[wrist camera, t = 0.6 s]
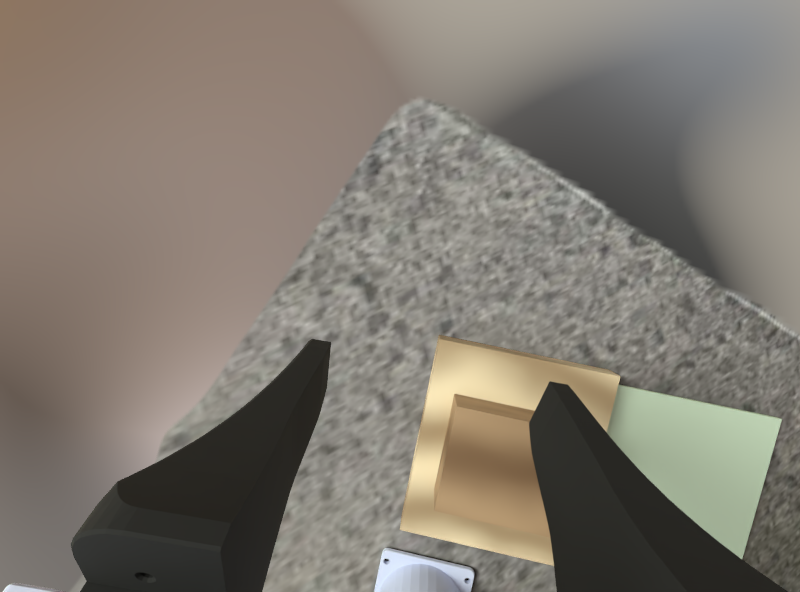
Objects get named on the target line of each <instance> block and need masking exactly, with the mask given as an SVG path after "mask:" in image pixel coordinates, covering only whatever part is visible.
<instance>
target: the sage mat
mask: <svg viewBox="0 0 800 592" xmlns="http://www.w3.org/2000/svg"><path fill="white" fill-rule="evenodd" d="M781 421H782V419H780V418H778V417H773V416H768V415H764V414H759V413H754V412H749V411H744V410H739V409H735V408H730V407H725V406H720V405H715V404H711V403H706V402H701V401H696V400H691V399H687V398H682V397H677V396H672V395H667V394H663V393H658V392H653V391H648V390H643V389H639V388H634V387H629V386H624V385H618V389H617V393H616V397H615V401H614V405H613V409H612V413H611V417H610V421H609V425H608V429H607V434H608V435H609V436H610V437H611V438H612V440H613V441H614V442H615V443H616V444H617V445H618V447H619V448H620V449H621V450H622V451H623V452H624V453H625V455H626V456H627V457H628V458H629V459H630V460H631V461H632V462H633V463H634V464H635V466H636V467H637V468H638V469H639V470H640V471H641V472H642V473H643V474H644V475H645V476H646V477H647V478H648V479H649V480H650V481H651V482H652V483H653V484H654V485H655V486H656V487H657V488H658V489H659V490H660V491H661V492H662V493H663V494H664V495H665V496H666V497H667V498H668V499H669V500H671V501H672V502H673V503H674V504H675V505H676V506H677V507H678V508H679V509H680V510H682V511H683V512H684V513H685V514H686V515H687V516H689V517H690V518H691V519H692V520H693V521H694V522H695V523H697V524H698V525H699V526H700V527H701V528H702V529H704V530H705V531H706V532H707V533H709V534H710V535H711V536H712V537H714V538H715V539H716V540H717V541H719V542H720V543H721V544H722V545H724V546H725V547H726V548H728V549H729V550H730V551H732V552H733V553H734V554H735V555H737V556H738V557H739V558H741V559H742V558H743V555H744V551H745V548H746V544H747V540H748V537H749V533H750V530H751V526H752V523H753V519H754V516H755V512H756V509H757V505H758V502H759V498H760V495H761V491H762V488H763V484H764V481H765V477H766V474H767V470H768V467H769V463H770V459H771V456H772V452H773V449H774V445H775V442H776V438H777V435H778V431H779V428H780V424H781Z"/></svg>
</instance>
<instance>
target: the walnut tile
mask: <svg viewBox="0 0 800 592" xmlns="http://www.w3.org/2000/svg"><path fill="white" fill-rule="evenodd" d="M534 412H535V411H534V410H529V409H524V408H520V407H515V406H510V405H506V404H501V403H496V402H492V401H487V400H482V399H478V398H473V397H468V396H464V395H459V394H454V398H453V403H452V407H451V412H450V417H449V421H448V426H447V431H446V435H445V440H444V445H443V450H442V454H441V459H440V464H439V468H438V473H437V478H436V482H435V487H434V511H437V512H441V513H446V514H450V515H454V516H459V517H463V518H467V519H472V520H476V521H480V522H485V523H489V524H493V525H498V526H502V527H506V528H511V529H515V530H519V531H524V532H528V533H532V534H537V535H541V536H545V537H550V532H549V527H548V522H547V517H546V513H545V509H544V505H543V500H542V496H541V492H540V488H539V483H538V479H537V475H536V470H535V466H534V461H533V457H532V451H531V442H530V431H529V422H530V420H531V418H532V416H533V414H534Z"/></svg>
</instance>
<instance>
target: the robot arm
mask: <svg viewBox="0 0 800 592" xmlns="http://www.w3.org/2000/svg"><path fill="white" fill-rule="evenodd" d="M330 347H331V342H326V341H321V340H315V339H311V340H310V341H308V343H307V344H306V345H305V347H304V348H303V349H302V350H301V351H300V353H299V354H298V355H297V356H296V357H295V358H294V359H293V360H292V362H291V363H290V364H289V365H288V366H287V367H286V368H285V369H284V370H283V371H282V372H281V373H280V374H279V375H278V376H277V377H276V378H275V379H274V380H273V381H272V382H271V383H270V384H269V385H268V386H267V387H265V388H264V389H263V390H262V391H261V392H260V393H259V394H258V395H257V396H255V397H254V398H253V399H252V400H251V401H250V402H248V403H247V404H246V405H245V406H244V407H242V408H241V409H240V410H239V411H237V412H236V413H235V414H233V415H232V416H231V417H229V418H228V419H227V420H225V421H224V422H222V423H221V424H219V425H218V426H217V427H215V428H214V429H212V430H211V431H209V432H208V433H206V434H205V435H203V436H202V437H200V438H199V439H197V440H195V441H194V442H192V443H190V444H189V445H187V446H185V447H183V448H182V449H180V450H178V451H177V452H175V453H173V454H171V455H170V456H168V457H166V458H164V459H163V460H161V461H159V462H157V463H155V464H153V465H151V466H149V467H147V468H145V469H143V470H141V471H139V472H137V473H135V474H133V475H131V476H129V477H127V478H124V479H122V480H120V481H118V482H117V483H116V484H115V485H114V486H113V487H112V489H111V490H110V491H109V492H108V493H107V494H106V495H105V497H103V499H102V500H101V501H100V502H99V503H98V505H97V506H96V507H95V509H94V510H93V511H92V513H91V514H90V515H89V517H88V518H87V520H86V521H85V522H84V524H83V525H82V527H81V528H80V530H79V531H78V532H77V533H76V535H75V537H74V538H73V540H72V543H71V548H72V551H73V555H74V558H75V560H76V561H77V563H78V565H79V567H80V569H81V571H82V573H83V575H84V577H85V578H86V580H87V582H86V583H85V585H84V587H83V588H82V590H81V591H80V592H262V590H263V586H264V582H265V579H266V575H267V571H268V568H269V564H270V560H271V557H272V553H273V549H274V546H275V542H276V539H277V535H278V532H279V528H280V524H281V521H282V518H283V514H284V511H285V507H286V504H287V500H288V497H289V493H290V490H291V487H292V485H293V482H294V479H295V476H296V474H297V471H298V468H299V466H300V463H301V461H302V458H303V456H304V453H305V451H306V448H307V446H308V443H309V441H310V438H311V436H312V433H313V430H314V428H315V425H316V423H317V420H318V418H319V415H320V411H321V407H322V404H323V400H324V396H325V392H326V389H327V380H328V369H329V358H330ZM529 431H530V442H531V451H532V457H533V461H534V466H535V470H536V475H537V479H538V483H539V488H540V492H541V496H542V500H543V505H544V509H545V513H546V517H547V522H548V527H549V532H550V538H551V545H552V553H553V561H554V568H555V578H556V587H557V592H787V591H786V590H784V589H783V588H782V587H780V586H779V585H777V584H776V583H774V582H773V581H772V580H770V579H769V578H767V577H766V576H764V575H763V574H762V573H760V572H759V571H757V570H756V569H754V568H753V567H752V566H750V565H749V564H747V563H746V562H745V561H743V560H742V559H741V558H739V557H738V556H737V555H735V554H734V553H733V552H732V551H730V550H729V549H728V548H726V547H725V546H724V545H722V544H721V543H720V542H719V541H717V540H716V539H715V538H714V537H712V536H711V535H710V534H709V533H707V532H706V531H705V530H704V529H702V528H701V527H700V526H699V525H698V524H697V523H695V522H694V521H693V520H692V519H691V518H690V517H689V516H687V515H686V514H685V513H684V512H683V511H682V510H680V509H679V508H678V507H677V506H676V505H675V504H674V503H673V502H672V501H671V500H669V499H668V498H667V497H666V496H665V495H664V494H663V493H662V492H661V491H660V490H659V489H658V488H657V487H656V486H655V485H654V484H653V483H652V482H651V481H650V480H649V479H648V478H647V477H646V476H645V475H644V474H643V473H642V472H641V471H640V470H639V469H638V468H637V467H636V466H635V464H634V463H633V462H632V461H631V460H630V459H629V458H628V457H627V456H626V455H625V453H624V452H623V451H622V450H621V449H620V448H619V447H618V445H617V444H616V443H615V442H614V441H613V440H612V438H611V437H610V436H609V435H608V434H607V432H606V431H605V430H604V429H603V428H602V426H601V425H600V424H599V423H598V421H597V420H596V419H595V418H594V416H593V415H592V414H591V413H590V411H589V410H588V409H587V407H586V406H585V405H584V404H583V402H582V401H581V400H580V399H579V397H578V396H577V395H576V394H575V392H574V391H573V390H572V389H571V388H570V386H569V385H568V384H562V383H556V382H551V381H550V382H549V384H548V386H547V388H546V390H545V392H544V394H543V396H542V398H541V400H540V402H539V404H538V406H537V408H536V410H535V412H534V414H533V416H532V418H531V420H530V422H529ZM384 559H389V561H385V560H384ZM466 578H469V580H465V579H466ZM473 580H474V570H473V569H472V568H470V567H467V566H463V565H458V564H454V563H450V562H446V561H442V560H437V559H433V558H429V557H425V556H421V555H416V554H412V553H408V552H404V551H399V550H395V549H391V548H385V549H384V550H383V552H382V556H381V561H380V566H379V571H378V576H377V581H376V585H375V590H374V592H471V589H472V585H473ZM3 592H64V591H61V590H56V589H50V588H43V587H38V586H31V585H25V584H19V583H12V584H10V585H8V586H7V587H6V588H5V590H4V591H3Z"/></svg>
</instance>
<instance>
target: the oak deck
mask: <svg viewBox="0 0 800 592" xmlns="http://www.w3.org/2000/svg"><path fill="white" fill-rule="evenodd" d="M620 377H621V376H619V375H617V374H615V373H614V372H612V371H610V370H607V369H602V368H598V367H593V366H588V365H583V364H578V363H573V362H568V361H564V360H559V359H554V358H549V357H544V356H539V355H535V354H530V353H525V352H520V351H515V350H510V349H505V348H501V347H496V346H491V345H486V344H481V343H476V342H472V341H467V340H462V339H457V338H452V337H447V336H442V335H439V337H438V342H437V347H436V352H435V357H434V362H433V366H432V371H431V376H430V381H429V386H428V391H427V395H426V400H425V405H424V410H423V415H422V420H421V424H420V429H419V434H418V439H417V444H416V448H415V453H414V458H413V463H412V468H411V473H410V477H409V482H408V487H407V492H406V497H405V502H404V506H403V511H402V517H401V526H400V530H403V531H407V532H412V533H416V534H420V535H425V536H429V537H433V538H437V539H442V540H446V541H450V542H454V543H459V544H463V545H467V546H471V547H476V548H480V549H484V550H489V551H493V552H497V553H501V554H506V555H510V556H514V557H518V558H523V559H527V560H531V561H536V562H540V563H544V564H548V565H553V566H554V561H553V553H552V545H551V538H550V537H545V536H541V535H537V534H532V533H528V532H524V531H519V530H515V529H511V528H506V527H502V526H498V525H493V524H489V523H485V522H480V521H476V520H472V519H467V518H463V517H459V516H454V515H450V514H446V513H441V512H437V511H434V487H435V482H436V478H437V473H438V468H439V464H440V459H441V454H442V450H443V445H444V440H445V435H446V431H447V426H448V421H449V417H450V412H451V407H452V403H453V398H454V394H459V395H464V396H468V397H473V398H478V399H482V400H487V401H492V402H496V403H501V404H506V405H510V406H515V407H520V408H524V409H529V410H534V411H535V410H536V408H537V406H538V404H539V402H540V400H541V398H542V396H543V394H544V392H545V390H546V388H547V386H548V384H549V382H550V381H551V382H556V383H562V384H568V385H569V386H570V388H571V389H572V390H573V391H574V392H575V394H576V395H577V396H578V397H579V399H580V400H581V401H582V402H583V404H584V405H585V406H586V407H587V409H588V410H589V411H590V413H591V414H592V415H593V416H594V418H595V419H596V420H597V421H598V423H599V424H600V425H601V426H602V428H603V429H604V430H605V431H606V432H607V429H608V425H609V421H610V417H611V413H612V409H613V405H614V401H615V397H616V393H617V389H618V385H619V381H620Z"/></svg>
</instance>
